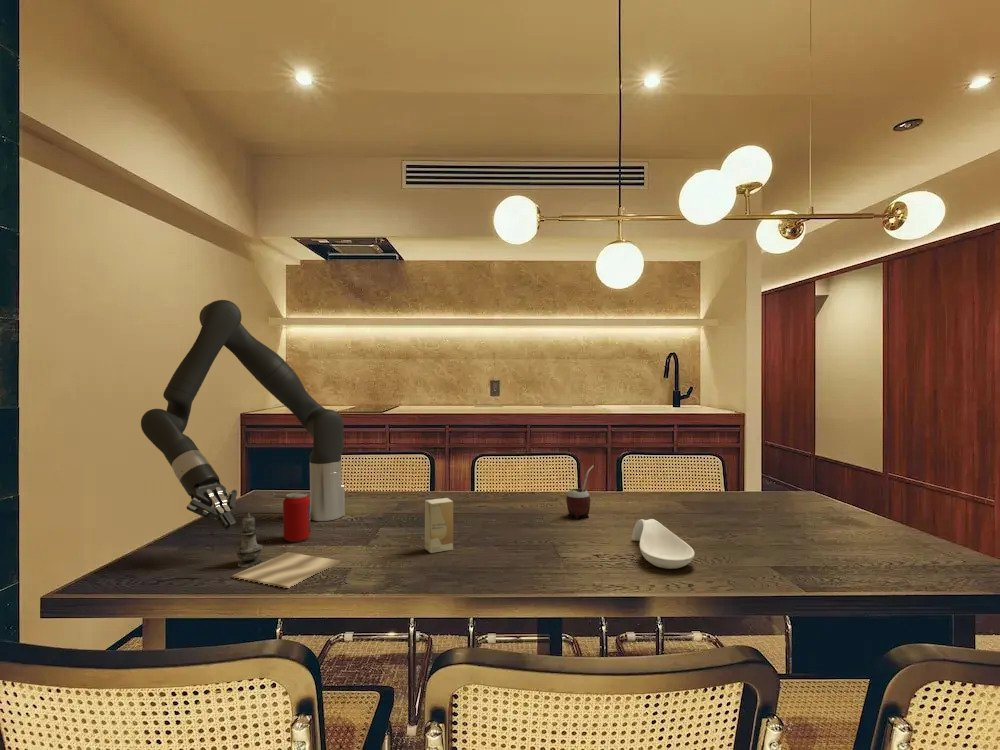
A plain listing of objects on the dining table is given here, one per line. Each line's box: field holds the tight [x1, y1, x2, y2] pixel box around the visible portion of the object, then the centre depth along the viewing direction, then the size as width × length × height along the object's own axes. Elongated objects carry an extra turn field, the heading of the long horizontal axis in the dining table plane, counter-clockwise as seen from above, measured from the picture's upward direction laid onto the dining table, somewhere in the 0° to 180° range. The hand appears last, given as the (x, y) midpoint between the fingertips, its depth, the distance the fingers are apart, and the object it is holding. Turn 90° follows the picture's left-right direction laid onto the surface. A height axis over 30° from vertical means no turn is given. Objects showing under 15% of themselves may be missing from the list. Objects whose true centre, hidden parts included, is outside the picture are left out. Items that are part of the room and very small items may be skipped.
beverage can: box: [282, 491, 311, 543], centre depth 144 cm, size 7×7×12 cm
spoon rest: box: [631, 518, 695, 570], centre depth 128 cm, size 24×12×7 cm, turn 5°
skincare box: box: [424, 497, 454, 554], centre depth 134 cm, size 6×4×12 cm
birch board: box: [231, 551, 341, 589], centre depth 122 cm, size 16×16×1 cm
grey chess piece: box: [234, 512, 263, 567], centre depth 126 cm, size 6×6×12 cm
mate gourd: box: [565, 465, 594, 521], centre depth 162 cm, size 8×8×15 cm
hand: (231, 527), depth 129 cm, fingers closed
